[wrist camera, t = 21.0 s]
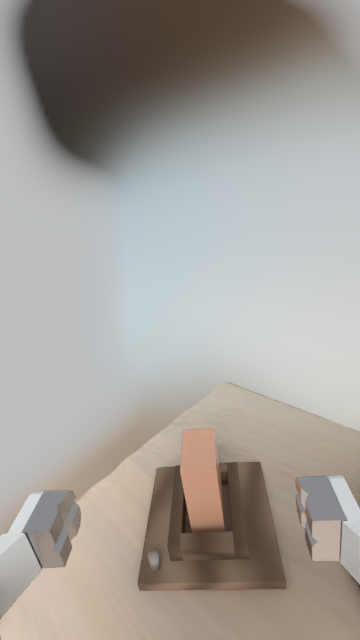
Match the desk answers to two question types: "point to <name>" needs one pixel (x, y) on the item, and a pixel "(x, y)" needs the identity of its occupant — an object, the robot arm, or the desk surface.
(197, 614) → the desk surface
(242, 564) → the keyed holder
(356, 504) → the robot arm
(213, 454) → the keyed block
